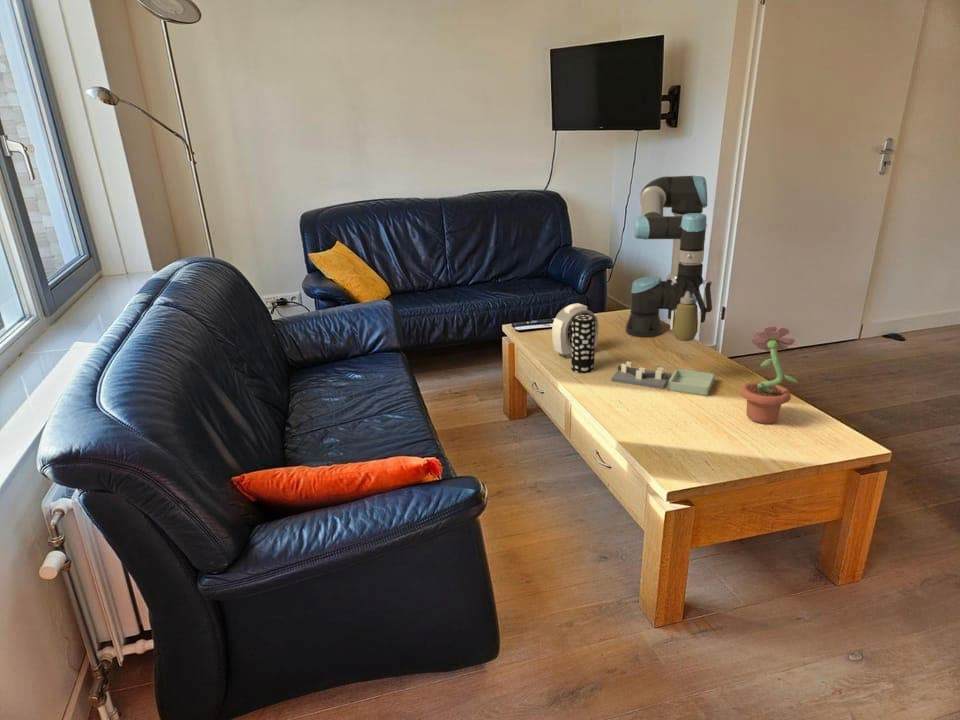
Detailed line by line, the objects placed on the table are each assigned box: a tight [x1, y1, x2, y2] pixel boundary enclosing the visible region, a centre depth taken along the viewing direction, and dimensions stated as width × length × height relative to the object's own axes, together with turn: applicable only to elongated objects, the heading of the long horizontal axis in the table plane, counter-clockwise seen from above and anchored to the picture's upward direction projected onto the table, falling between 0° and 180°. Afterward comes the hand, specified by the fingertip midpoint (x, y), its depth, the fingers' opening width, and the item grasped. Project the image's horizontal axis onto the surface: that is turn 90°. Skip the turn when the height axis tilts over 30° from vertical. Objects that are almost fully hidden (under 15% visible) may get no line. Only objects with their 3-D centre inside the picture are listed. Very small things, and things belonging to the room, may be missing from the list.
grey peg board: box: [610, 360, 672, 390], centre depth 221 cm, size 12×18×4 cm, turn 62°
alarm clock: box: [551, 302, 600, 359], centre depth 244 cm, size 18×8×20 cm, turn 117°
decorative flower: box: [739, 325, 799, 425], centre depth 184 cm, size 15×14×30 cm
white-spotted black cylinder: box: [570, 314, 596, 374], centre depth 229 cm, size 8×8×20 cm
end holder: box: [666, 368, 715, 397], centre depth 213 cm, size 13×13×3 cm
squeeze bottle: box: [672, 291, 699, 342], centre depth 208 cm, size 8×8×18 cm
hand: (685, 329), depth 210 cm, fingers closed on squeeze bottle, 8 cm apart
